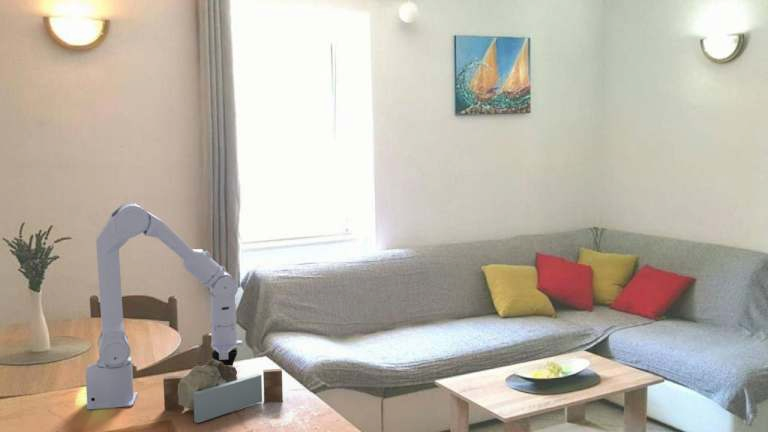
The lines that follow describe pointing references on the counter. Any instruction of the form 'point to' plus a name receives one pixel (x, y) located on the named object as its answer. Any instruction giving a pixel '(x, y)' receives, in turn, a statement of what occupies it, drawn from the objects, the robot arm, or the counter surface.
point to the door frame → (270, 389)
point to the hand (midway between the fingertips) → (225, 380)
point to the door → (227, 397)
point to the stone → (204, 380)
